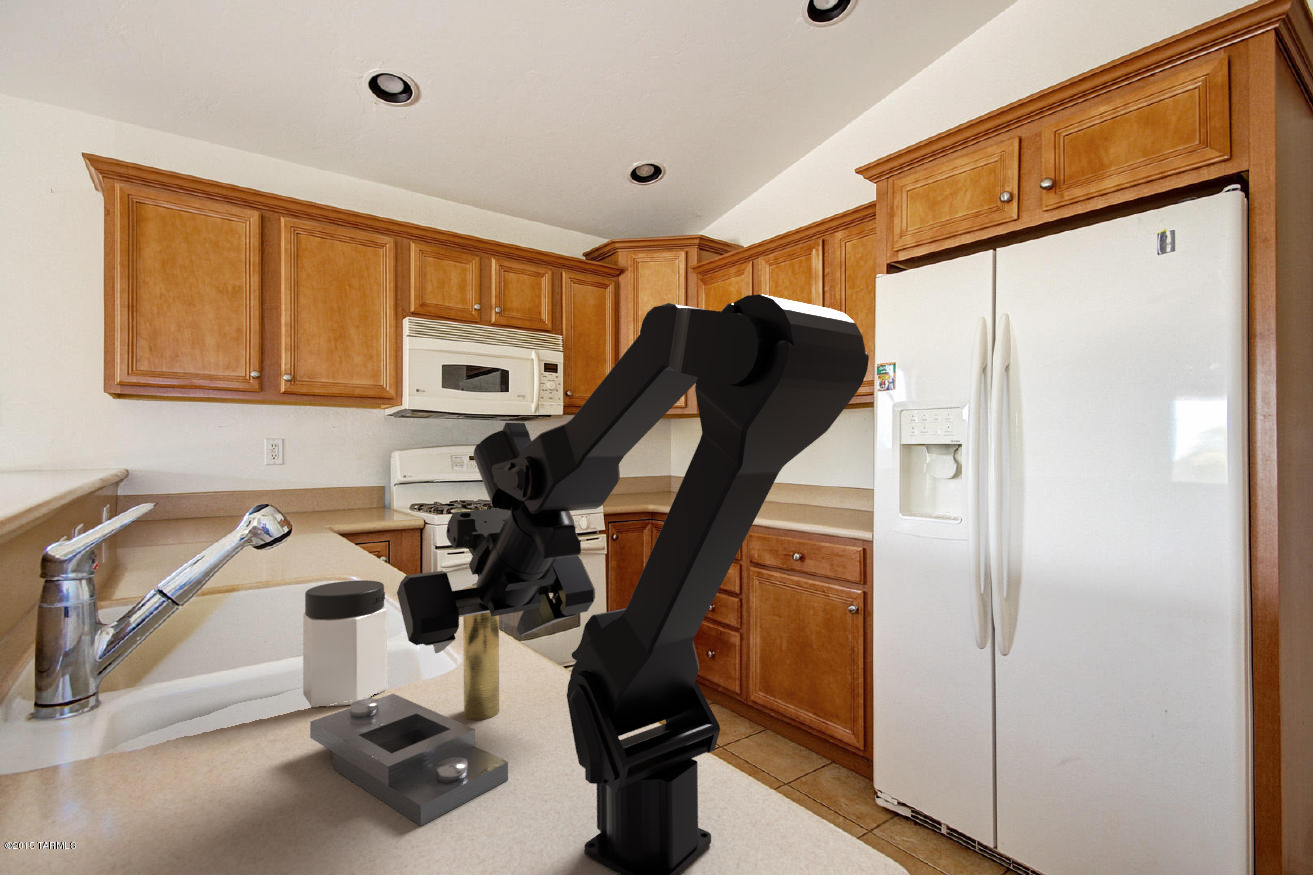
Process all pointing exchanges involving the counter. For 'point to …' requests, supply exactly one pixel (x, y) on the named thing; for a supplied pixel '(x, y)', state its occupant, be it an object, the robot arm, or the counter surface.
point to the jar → (344, 642)
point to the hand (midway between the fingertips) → (479, 639)
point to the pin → (481, 665)
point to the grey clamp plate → (408, 756)
